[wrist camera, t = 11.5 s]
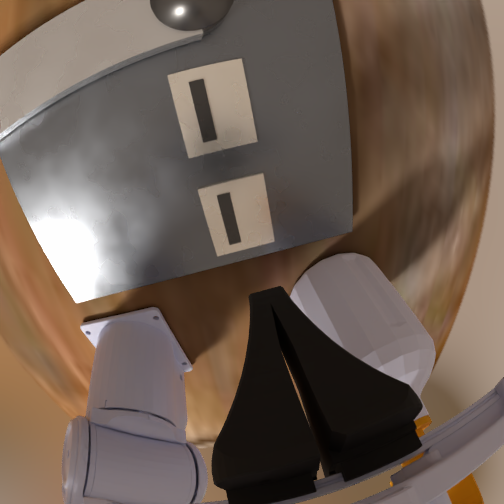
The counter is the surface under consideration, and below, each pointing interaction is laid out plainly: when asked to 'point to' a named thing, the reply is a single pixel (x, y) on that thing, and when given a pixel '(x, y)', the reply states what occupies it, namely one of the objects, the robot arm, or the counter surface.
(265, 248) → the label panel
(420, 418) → the soap bottle
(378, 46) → the counter surface
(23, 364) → the counter surface
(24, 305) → the counter surface
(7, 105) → the white long bar
